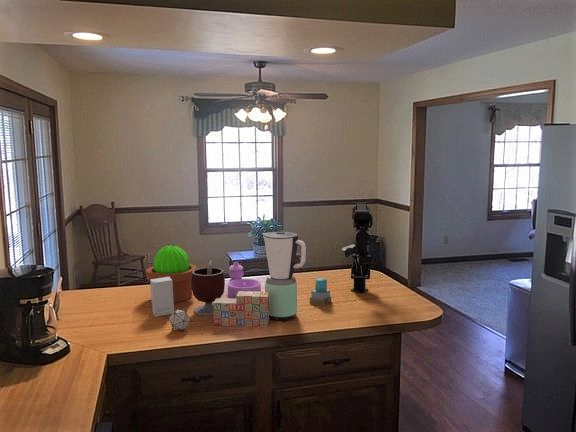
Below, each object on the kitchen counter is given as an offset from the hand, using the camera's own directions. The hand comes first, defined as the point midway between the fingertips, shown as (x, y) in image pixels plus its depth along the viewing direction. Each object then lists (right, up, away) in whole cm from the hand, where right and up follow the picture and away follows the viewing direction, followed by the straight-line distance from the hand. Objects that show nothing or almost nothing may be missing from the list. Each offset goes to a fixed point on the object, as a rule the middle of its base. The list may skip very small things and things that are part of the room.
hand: (361, 274), depth 217 cm
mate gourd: (-66, -15, -7) cm, 68 cm away
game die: (-73, -18, -30) cm, 81 cm away
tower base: (-18, -13, +2) cm, 22 cm away
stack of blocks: (-50, -17, -23) cm, 58 cm away
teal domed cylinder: (-18, -7, +1) cm, 19 cm away
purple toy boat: (-54, -11, +15) cm, 57 cm away
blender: (-34, -16, -16) cm, 41 cm away
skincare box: (-84, -15, -12) cm, 87 cm away
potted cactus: (-85, -12, +10) cm, 87 cm away
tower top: (-18, -10, +2) cm, 20 cm away
